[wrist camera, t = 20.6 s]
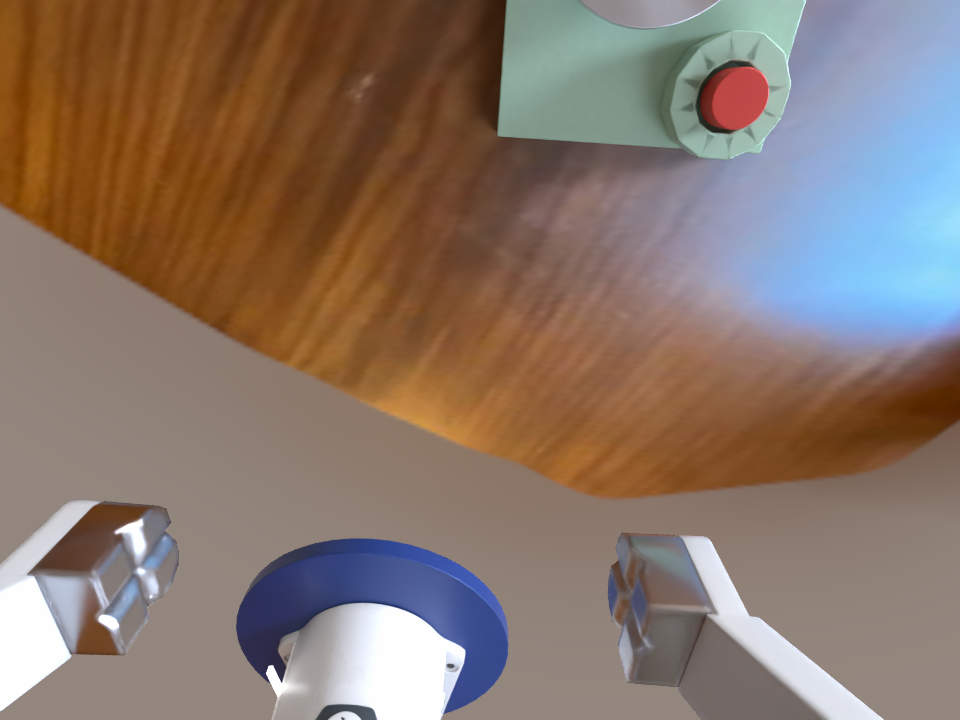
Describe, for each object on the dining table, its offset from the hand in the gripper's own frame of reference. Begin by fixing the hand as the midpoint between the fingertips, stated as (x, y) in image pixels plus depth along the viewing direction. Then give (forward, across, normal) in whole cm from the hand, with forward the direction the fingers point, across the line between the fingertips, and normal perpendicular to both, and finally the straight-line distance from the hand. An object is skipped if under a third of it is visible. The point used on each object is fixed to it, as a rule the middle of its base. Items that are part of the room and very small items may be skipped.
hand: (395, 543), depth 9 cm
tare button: (+22, -13, -8) cm, 26 cm away
